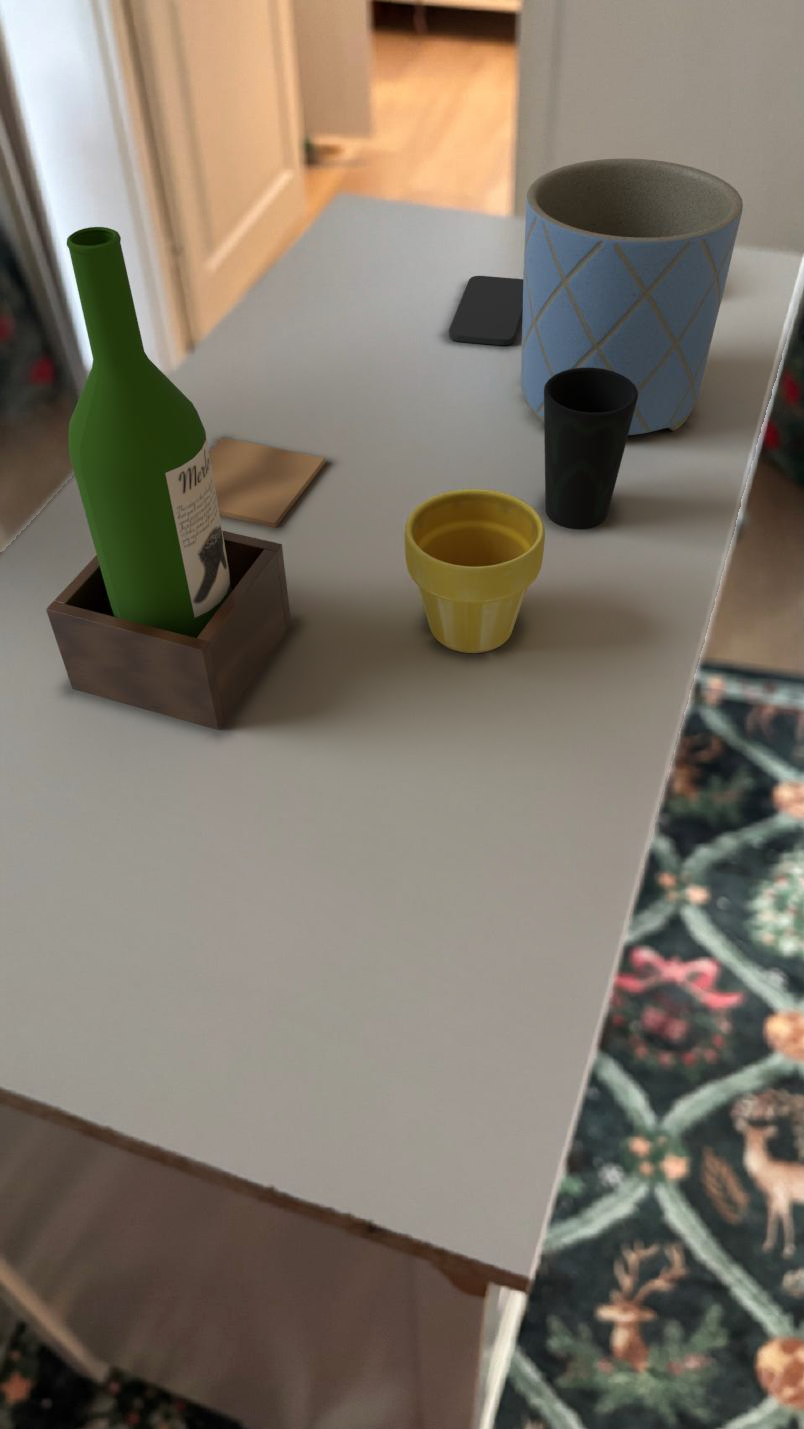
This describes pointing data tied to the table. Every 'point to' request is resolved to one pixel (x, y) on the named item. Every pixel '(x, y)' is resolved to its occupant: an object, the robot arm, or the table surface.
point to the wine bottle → (141, 461)
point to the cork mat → (259, 480)
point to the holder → (177, 640)
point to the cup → (584, 443)
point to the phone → (489, 311)
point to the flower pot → (473, 564)
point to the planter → (626, 279)
